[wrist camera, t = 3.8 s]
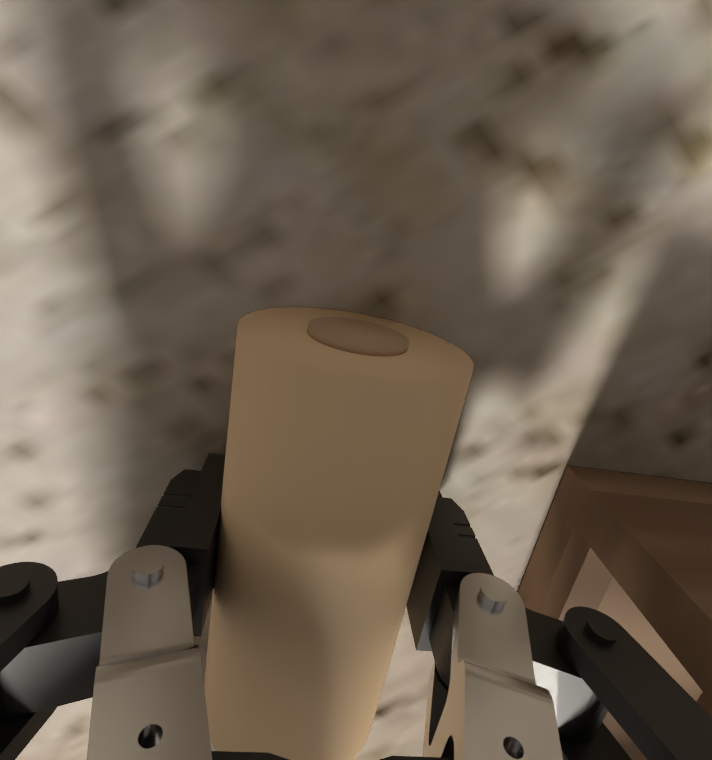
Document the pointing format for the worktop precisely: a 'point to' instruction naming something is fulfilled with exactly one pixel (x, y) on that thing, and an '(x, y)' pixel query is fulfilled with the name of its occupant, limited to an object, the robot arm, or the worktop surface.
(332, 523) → the roll
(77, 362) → the worktop surface
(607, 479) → the holder
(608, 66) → the worktop surface
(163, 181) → the worktop surface
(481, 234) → the worktop surface
